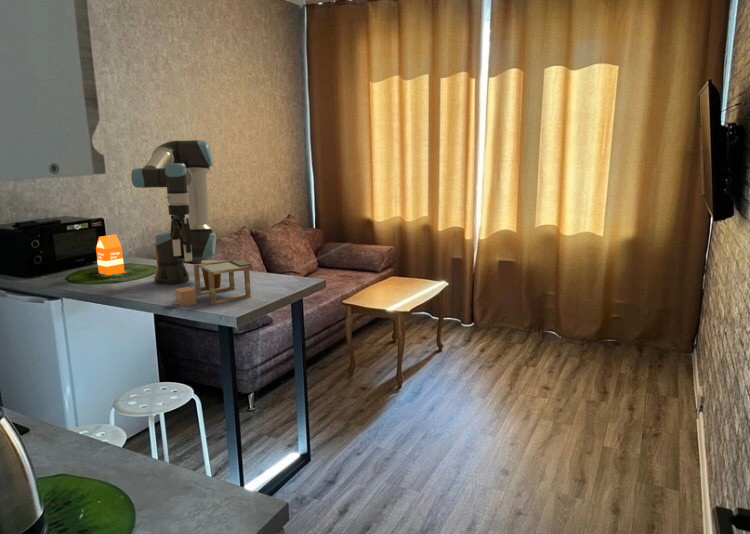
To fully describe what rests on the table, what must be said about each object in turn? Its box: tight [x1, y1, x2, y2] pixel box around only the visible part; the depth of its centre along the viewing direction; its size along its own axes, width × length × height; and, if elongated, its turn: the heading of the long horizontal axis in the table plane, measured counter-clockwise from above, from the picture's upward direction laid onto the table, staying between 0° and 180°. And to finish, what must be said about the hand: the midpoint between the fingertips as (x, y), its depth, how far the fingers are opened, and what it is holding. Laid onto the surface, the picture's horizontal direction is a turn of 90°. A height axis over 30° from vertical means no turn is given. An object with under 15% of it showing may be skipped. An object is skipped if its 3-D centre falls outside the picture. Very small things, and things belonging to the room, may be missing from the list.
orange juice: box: [95, 233, 125, 275], centre depth 271 cm, size 8×9×20 cm
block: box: [174, 286, 197, 307], centre depth 224 cm, size 6×6×6 cm
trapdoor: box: [200, 259, 253, 272], centre depth 235 cm, size 15×18×2 cm
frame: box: [193, 259, 252, 305], centre depth 234 cm, size 19×17×13 cm
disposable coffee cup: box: [200, 258, 222, 290], centre depth 249 cm, size 10×10×12 cm
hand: (182, 258), depth 221 cm, fingers open, 13 cm apart
